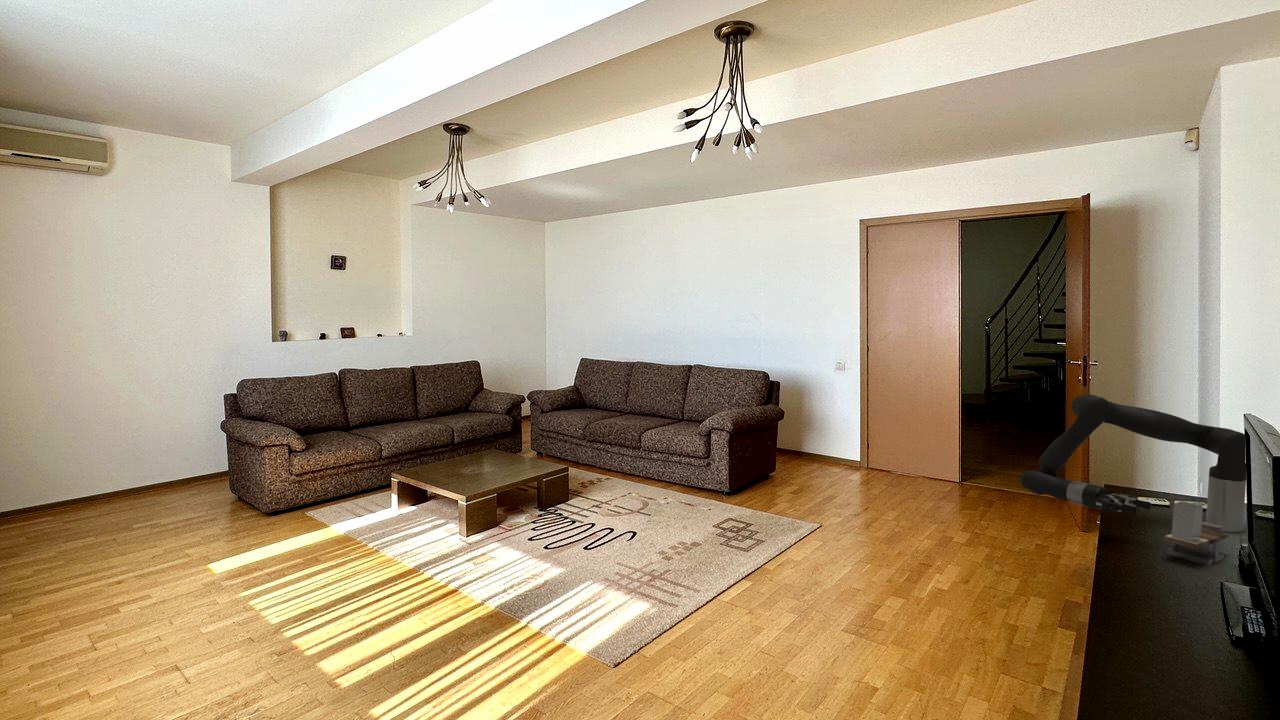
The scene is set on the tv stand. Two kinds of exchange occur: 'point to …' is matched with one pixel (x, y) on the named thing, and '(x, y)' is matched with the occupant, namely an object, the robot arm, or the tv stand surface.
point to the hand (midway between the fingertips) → (1143, 508)
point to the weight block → (1187, 521)
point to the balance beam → (1207, 536)
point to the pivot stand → (1198, 553)
